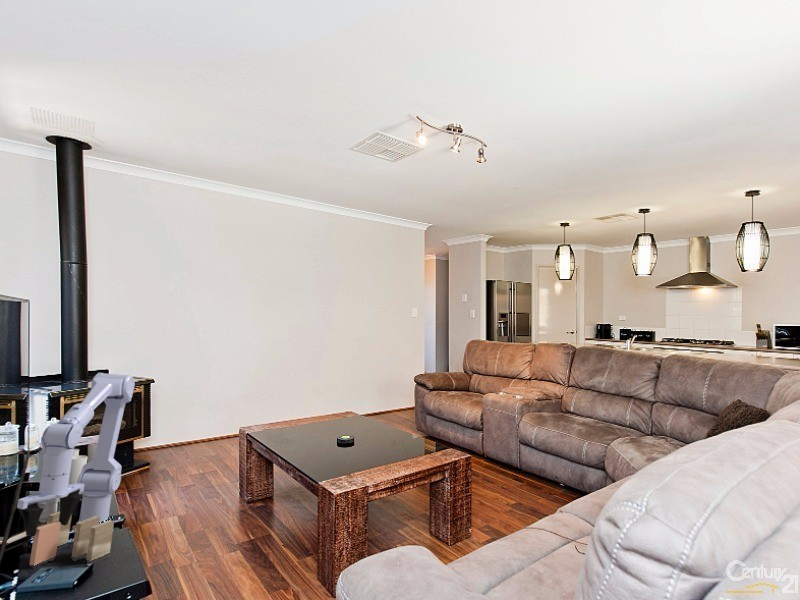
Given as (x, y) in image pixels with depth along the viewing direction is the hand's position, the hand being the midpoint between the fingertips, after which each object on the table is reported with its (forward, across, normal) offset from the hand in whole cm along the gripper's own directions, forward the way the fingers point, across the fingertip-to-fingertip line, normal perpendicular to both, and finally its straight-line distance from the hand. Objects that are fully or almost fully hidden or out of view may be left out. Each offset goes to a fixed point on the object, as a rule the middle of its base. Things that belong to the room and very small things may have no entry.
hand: (47, 529), depth 110 cm
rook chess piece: (+8, +16, +23) cm, 29 cm away
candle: (+8, +28, +35) cm, 46 cm away
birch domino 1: (+8, +7, +5) cm, 11 cm away
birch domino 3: (+8, +7, -10) cm, 14 cm away
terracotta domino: (+8, 0, 0) cm, 8 cm away
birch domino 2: (+8, +7, -5) cm, 11 cm away
